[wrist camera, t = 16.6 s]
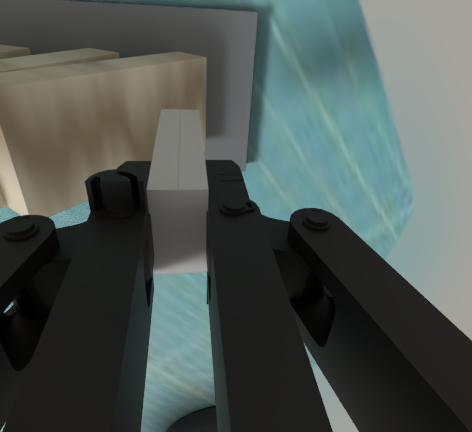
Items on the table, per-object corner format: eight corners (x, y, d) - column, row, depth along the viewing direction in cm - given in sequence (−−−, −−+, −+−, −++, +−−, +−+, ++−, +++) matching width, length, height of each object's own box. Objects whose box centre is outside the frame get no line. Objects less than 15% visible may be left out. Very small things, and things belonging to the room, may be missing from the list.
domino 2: (205, 150, 20) (31, 224, 13) (180, 141, 21) (6, 205, 14) (206, 57, 17) (-12, 89, 11) (177, 51, 18) (-39, 77, 12)
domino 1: (130, 148, 20) (-67, 239, 12) (103, 140, 21) (-97, 222, 13) (119, 52, 17) (-143, 93, 10) (88, 47, 18) (-176, 82, 10)
